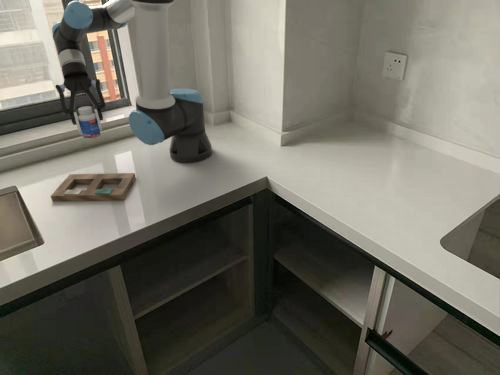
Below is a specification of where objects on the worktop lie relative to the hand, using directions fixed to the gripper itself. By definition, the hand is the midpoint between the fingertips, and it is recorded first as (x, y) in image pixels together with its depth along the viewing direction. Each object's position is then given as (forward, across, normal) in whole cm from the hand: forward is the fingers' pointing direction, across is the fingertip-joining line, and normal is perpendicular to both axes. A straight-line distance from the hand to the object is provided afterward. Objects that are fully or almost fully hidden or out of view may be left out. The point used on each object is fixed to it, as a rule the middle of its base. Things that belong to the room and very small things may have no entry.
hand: (90, 130), depth 116 cm
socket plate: (+19, +3, -2) cm, 19 cm away
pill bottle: (0, 0, -5) cm, 5 cm away
